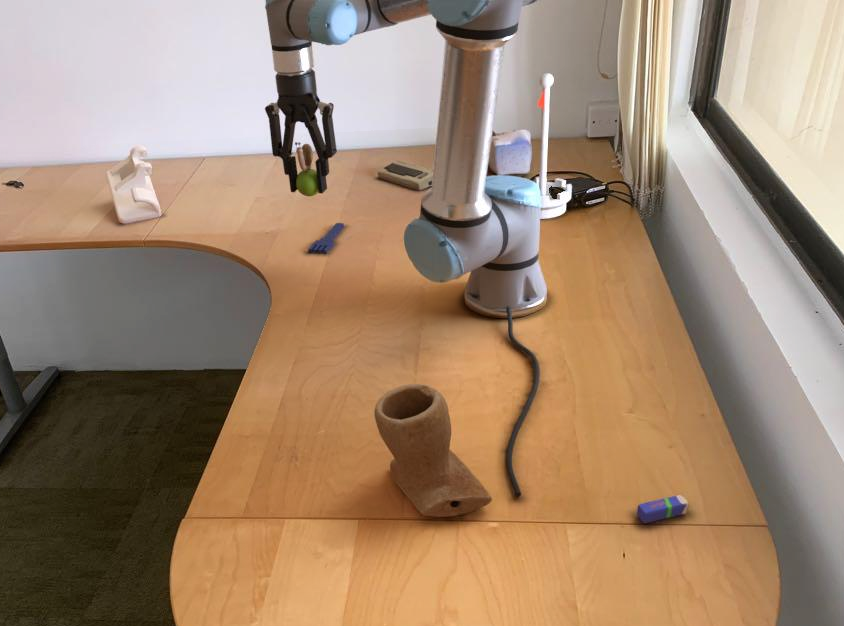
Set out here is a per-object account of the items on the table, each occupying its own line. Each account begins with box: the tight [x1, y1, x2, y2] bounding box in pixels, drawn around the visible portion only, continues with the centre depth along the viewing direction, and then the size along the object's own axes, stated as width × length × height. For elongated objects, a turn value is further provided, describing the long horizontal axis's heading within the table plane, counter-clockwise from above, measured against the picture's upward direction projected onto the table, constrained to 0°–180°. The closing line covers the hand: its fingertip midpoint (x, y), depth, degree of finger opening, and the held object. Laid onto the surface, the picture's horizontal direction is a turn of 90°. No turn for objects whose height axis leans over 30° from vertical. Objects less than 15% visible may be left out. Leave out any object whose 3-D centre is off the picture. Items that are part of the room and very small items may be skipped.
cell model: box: [488, 129, 533, 176], centre depth 216 cm, size 13×11×20 cm
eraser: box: [636, 494, 689, 524], centre depth 107 cm, size 2×6×2 cm, turn 103°
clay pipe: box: [373, 383, 493, 518], centre depth 111 cm, size 15×12×15 cm
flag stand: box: [534, 72, 573, 220], centre depth 185 cm, size 13×13×30 cm
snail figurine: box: [294, 141, 320, 197], centre depth 168 cm, size 5×6×12 cm
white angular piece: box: [105, 145, 163, 225], centre depth 215 cm, size 20×11×13 cm, turn 19°
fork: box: [307, 222, 345, 255], centre depth 190 cm, size 15×4×1 cm, turn 161°
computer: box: [377, 160, 433, 191], centre depth 216 cm, size 16×8×3 cm, turn 40°
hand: (309, 190), depth 171 cm, fingers closed on snail figurine, 5 cm apart
